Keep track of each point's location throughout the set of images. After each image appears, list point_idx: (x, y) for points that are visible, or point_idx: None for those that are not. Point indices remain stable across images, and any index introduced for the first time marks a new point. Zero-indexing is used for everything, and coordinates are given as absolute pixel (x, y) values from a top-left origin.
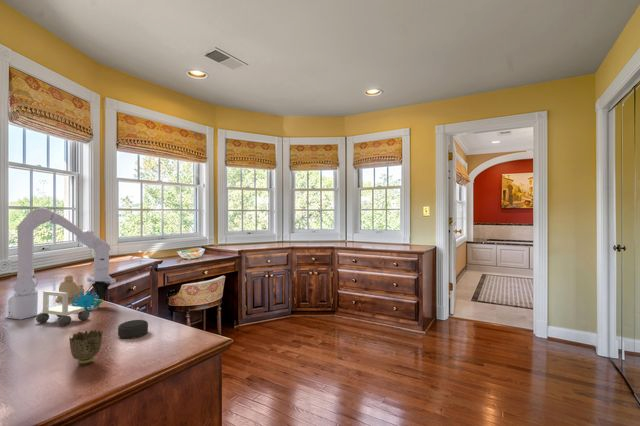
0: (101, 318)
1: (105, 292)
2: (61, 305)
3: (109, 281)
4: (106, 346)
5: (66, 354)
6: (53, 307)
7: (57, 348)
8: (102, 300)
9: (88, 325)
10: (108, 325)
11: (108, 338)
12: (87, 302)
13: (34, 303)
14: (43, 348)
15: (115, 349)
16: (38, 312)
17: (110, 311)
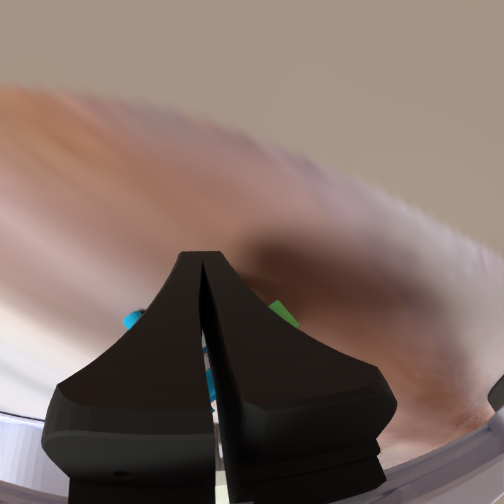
0: (406, 376)
1: (246, 293)
2: (217, 487)
3: (454, 473)
4: (476, 417)
5: (431, 450)
6: (218, 497)
7: (407, 457)
8: (297, 325)
9: (399, 416)
10: (454, 388)
11: (472, 408)
12: (214, 394)
13: (66, 489)
14: (383, 468)
15: (488, 412)
16: (41, 427)
17: (391, 305)
